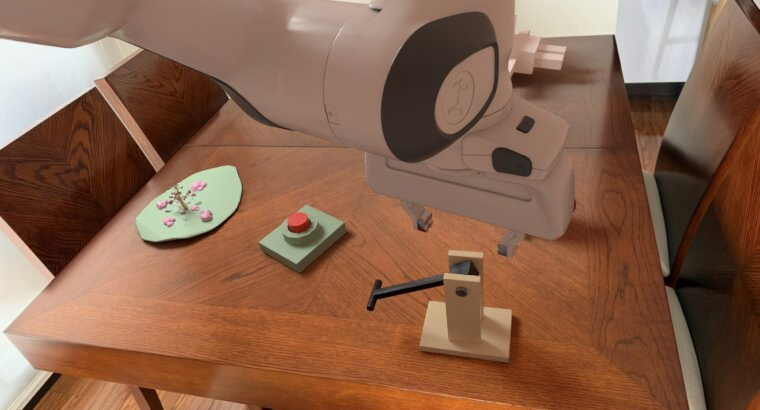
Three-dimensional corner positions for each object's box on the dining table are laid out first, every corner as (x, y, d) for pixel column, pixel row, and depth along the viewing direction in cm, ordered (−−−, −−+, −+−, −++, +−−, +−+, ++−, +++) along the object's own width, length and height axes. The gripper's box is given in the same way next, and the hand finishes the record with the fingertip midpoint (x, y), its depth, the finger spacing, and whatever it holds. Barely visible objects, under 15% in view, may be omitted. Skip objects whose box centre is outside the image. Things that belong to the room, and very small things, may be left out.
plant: (172, 170, 115) (156, 137, 109) (258, 165, 112) (245, 131, 106) (118, 248, 96) (95, 212, 90) (219, 245, 93) (202, 208, 87)
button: (299, 236, 86) (297, 228, 85) (285, 228, 88) (283, 221, 87) (314, 223, 88) (311, 216, 87) (300, 217, 90) (297, 209, 89)
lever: (371, 315, 70) (362, 304, 68) (380, 287, 73) (371, 276, 72) (476, 294, 61) (467, 281, 60) (480, 264, 65) (472, 252, 64)
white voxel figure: (550, 111, 116) (434, 94, 125) (564, 64, 133) (461, 52, 142) (561, 50, 106) (435, 37, 115) (575, 8, 123) (464, -1, 132)
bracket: (419, 350, 70) (410, 284, 61) (429, 305, 75) (422, 239, 67) (508, 363, 66) (512, 295, 58) (512, 314, 72) (515, 246, 63)
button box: (299, 273, 84) (293, 256, 82) (261, 251, 90) (255, 234, 87) (346, 231, 91) (342, 214, 88) (308, 213, 96) (304, 196, 94)
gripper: (341, 123, 46) (364, 232, 55) (567, 169, 37) (552, 292, 46) (376, 91, 50) (392, 198, 59) (589, 125, 41) (571, 246, 49)
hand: (463, 239), depth 52 cm, fingers open, 8 cm apart
